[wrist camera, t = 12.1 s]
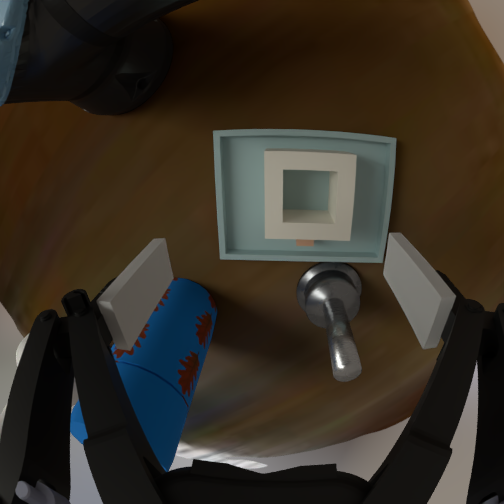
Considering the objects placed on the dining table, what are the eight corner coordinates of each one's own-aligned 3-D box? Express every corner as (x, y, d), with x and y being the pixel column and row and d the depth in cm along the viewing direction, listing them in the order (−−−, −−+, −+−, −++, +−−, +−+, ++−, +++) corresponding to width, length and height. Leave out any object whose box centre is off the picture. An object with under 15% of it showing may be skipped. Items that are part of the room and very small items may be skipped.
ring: (266, 148, 30) (264, 150, 26) (345, 151, 29) (356, 155, 25) (267, 238, 35) (264, 256, 30) (339, 240, 34) (347, 258, 29)
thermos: (202, 269, 38) (123, 430, 15) (228, 329, 42) (189, 483, 19) (139, 284, 40) (47, 412, 18) (168, 337, 44) (109, 466, 22)
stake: (298, 259, 36) (306, 338, 22) (365, 261, 35) (403, 335, 21) (294, 316, 40) (296, 400, 26) (354, 316, 39) (377, 396, 25)
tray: (217, 130, 30) (213, 130, 28) (390, 137, 28) (396, 138, 26) (223, 252, 37) (220, 259, 35) (377, 255, 35) (382, 262, 33)
